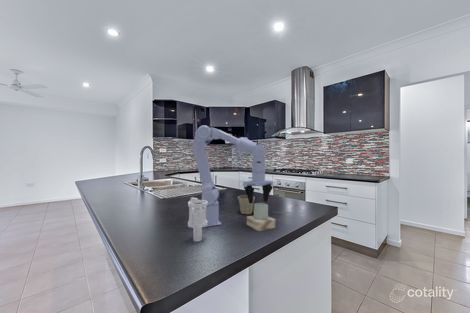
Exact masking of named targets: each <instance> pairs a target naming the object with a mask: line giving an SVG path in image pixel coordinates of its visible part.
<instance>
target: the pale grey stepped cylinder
mask: <svg viewBox="0 0 470 313" xmlns="http://www.w3.org/2000/svg"><path fill="white" fill-rule="evenodd" d="M207 205H208V201H206V200H202V199H198V198H197V197H190V200H189V201H188V202H187V206H188V221H187V226H188V228H191V229H192V230H193V234H192V235H193V236H192V237H193V238H192V241H194V242H201V241H203V240H202V239H203V238H202V237H203V236H202V235H203V234H202V233H203V228H206V227H205V226H207V220H206V206H207ZM198 207H200V209H197V208H198ZM202 207H203V209H202Z"/></svg>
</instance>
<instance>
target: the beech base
mask: <svg viewBox="0 0 470 313" xmlns="http://www.w3.org/2000/svg"><path fill="white" fill-rule="evenodd" d="M276 222H277V221H276V219H275V218H273V217H271V216H269V215H268V219H262V220H258V219H257V218H255V217H254V215H247V216H246V226H248V227H250V228H251V229H253V230H254V231H257V232H262V231H266V230H272V229H276V225H277V224H276Z"/></svg>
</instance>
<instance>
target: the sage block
mask: <svg viewBox="0 0 470 313" xmlns="http://www.w3.org/2000/svg"><path fill="white" fill-rule="evenodd" d="M253 216H254V217H255V218H257V219H258V220H262V219H268V216H269V205H268V204H267V203H264V202H256V203H253Z"/></svg>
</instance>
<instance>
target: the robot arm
mask: <svg viewBox="0 0 470 313" xmlns="http://www.w3.org/2000/svg"><path fill="white" fill-rule="evenodd" d="M213 140H223V141H226V142H228V143H230V144H233V145H234V146H235V147H236V150H239V151H241V152H244V153H247V154H248V155H253V156H252V161H251V162H252V163H251V164H252V165H251V180H248V181H243V182H242V187H243V189H244V191H245V193H246V195H247V196H248V200H249V203H253V204H254V202H253V196H254V191H255V188H254V187H259V186H261V187H262V188H261V189H262V193H263V194H262V198H263V200H262V201H263V202H266V203H268V200H269V196H270V193H271V192H272V190H273V185H274V180H266V157H265V155H266V153H267V150H266V147H265V146H264V145H262V144H258V142H257V141H255V142H254V141H252V140H250V139H248V137H246V136H245V137H243V136H241V137H239V138H238V137H236V136H234V135H231V134H229V133H227V132H225V131H223V130H222V129H218V128H215V127H212V126H208V125H204V124H202V125H200V126H199V127H198V128H197V130H196V131H195V132H194V139H193V142H192V146H191V147H192V151H193V155H194V158H195V163H196V166H197V171H198V173H199V178H200V181H201V182H200V183H201V200H206V201H208V205H207V206H206V220H207V226H205V227H204V228H206V227H207V228H208V227H213V226H214V227H215V226H220V225H223V223H222V222H221V221H219V208H220V206H219V205H220V204H219V201H218V199H219V197H220V191H219V189H218V188H217V187H216V185H215V183H214V181H213V177H212V174H211V173H212V172H211V170H210V165H209V162H208V158H207V155H206V151H205V148H206V147H207V145H208V144H209V143H210V142H211V141H213ZM196 209H200V207H198V208H196ZM202 209H203V207H202Z"/></svg>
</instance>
